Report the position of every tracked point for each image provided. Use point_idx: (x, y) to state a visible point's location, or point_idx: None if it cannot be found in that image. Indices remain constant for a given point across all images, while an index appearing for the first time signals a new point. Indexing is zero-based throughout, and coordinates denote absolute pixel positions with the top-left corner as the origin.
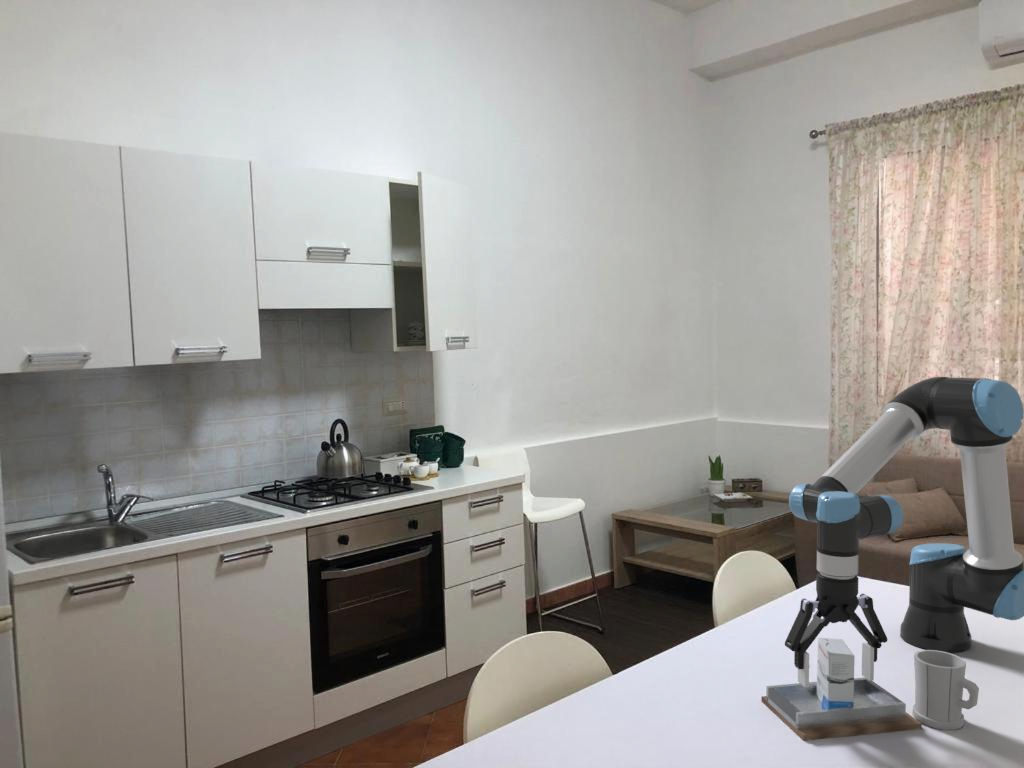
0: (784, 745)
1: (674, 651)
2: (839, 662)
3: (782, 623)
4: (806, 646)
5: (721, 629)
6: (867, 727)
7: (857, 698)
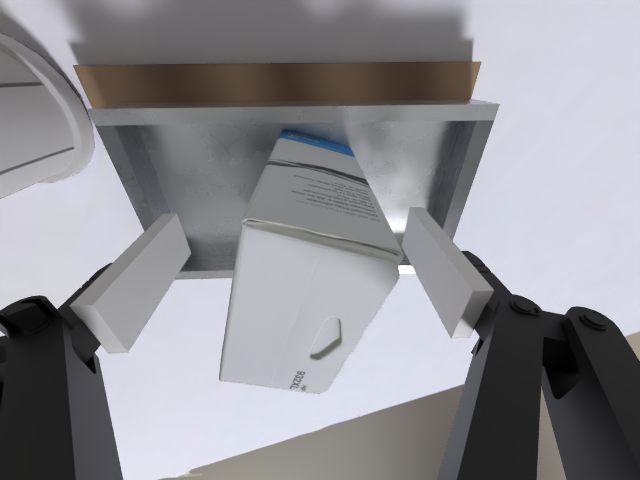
0: (544, 43)
1: (429, 393)
2: (339, 213)
3: (233, 431)
4: (515, 327)
5: (325, 425)
6: (262, 72)
7: (225, 217)
